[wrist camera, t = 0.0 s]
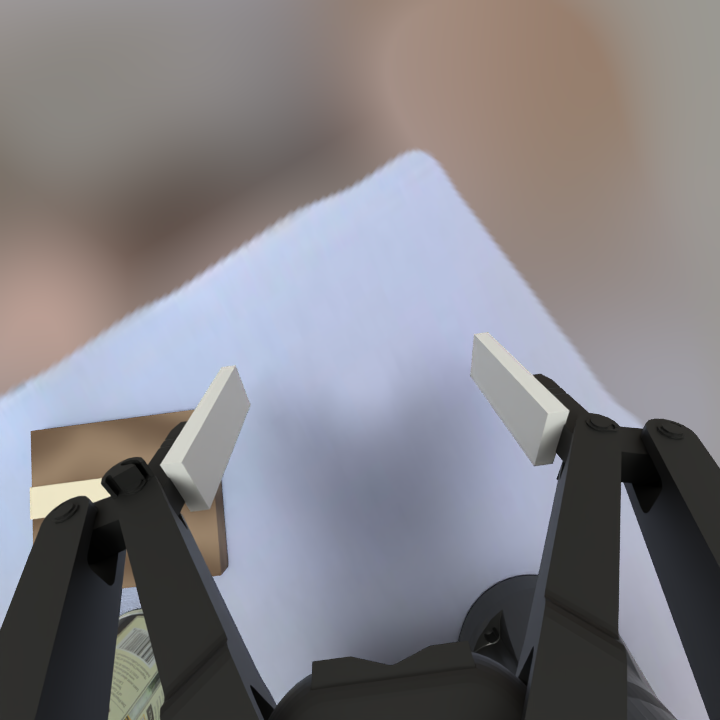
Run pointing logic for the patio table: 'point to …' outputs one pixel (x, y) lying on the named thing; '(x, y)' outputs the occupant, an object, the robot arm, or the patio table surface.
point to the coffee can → (135, 673)
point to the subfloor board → (109, 447)
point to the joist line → (63, 495)
